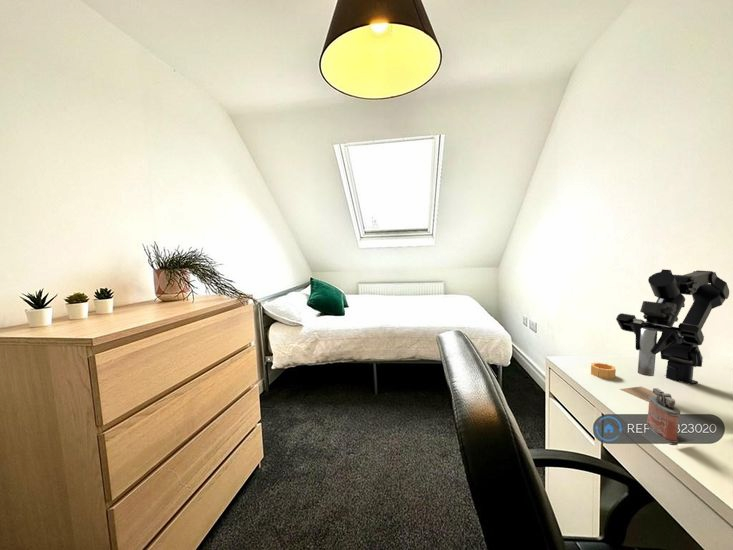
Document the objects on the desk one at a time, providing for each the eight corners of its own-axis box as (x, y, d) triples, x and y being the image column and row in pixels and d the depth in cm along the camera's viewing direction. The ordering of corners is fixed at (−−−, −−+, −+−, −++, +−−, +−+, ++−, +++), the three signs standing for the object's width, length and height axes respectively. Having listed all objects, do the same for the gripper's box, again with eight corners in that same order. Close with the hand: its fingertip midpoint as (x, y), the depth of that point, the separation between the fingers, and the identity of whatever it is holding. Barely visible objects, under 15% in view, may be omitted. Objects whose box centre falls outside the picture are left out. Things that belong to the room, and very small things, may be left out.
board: (640, 388, 100) (641, 386, 100) (670, 401, 92) (670, 398, 92) (619, 391, 98) (619, 389, 98) (647, 404, 90) (647, 401, 90)
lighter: (682, 446, 72) (686, 402, 71) (664, 444, 73) (668, 400, 72) (658, 426, 80) (661, 386, 79) (641, 424, 80) (645, 385, 79)
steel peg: (644, 370, 97) (647, 327, 95) (657, 375, 93) (660, 330, 92) (634, 371, 96) (637, 327, 95) (647, 376, 92) (650, 331, 91)
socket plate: (601, 370, 114) (601, 360, 114) (626, 381, 106) (627, 370, 105) (579, 372, 112) (580, 362, 112) (603, 383, 104) (604, 372, 103)
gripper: (621, 287, 102) (599, 326, 98) (703, 295, 86) (680, 343, 82) (632, 309, 107) (611, 348, 103) (712, 321, 90) (691, 368, 86)
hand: (645, 351), depth 93 cm, fingers closed on steel peg, 4 cm apart
